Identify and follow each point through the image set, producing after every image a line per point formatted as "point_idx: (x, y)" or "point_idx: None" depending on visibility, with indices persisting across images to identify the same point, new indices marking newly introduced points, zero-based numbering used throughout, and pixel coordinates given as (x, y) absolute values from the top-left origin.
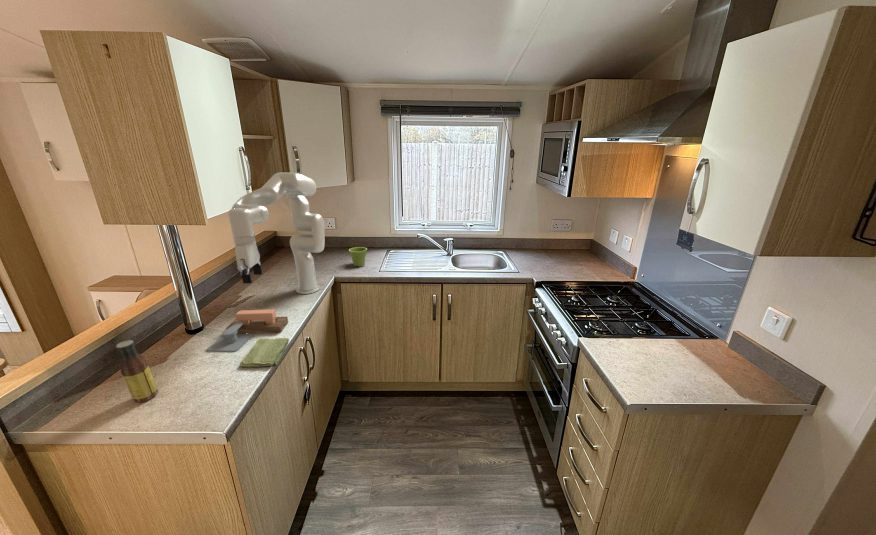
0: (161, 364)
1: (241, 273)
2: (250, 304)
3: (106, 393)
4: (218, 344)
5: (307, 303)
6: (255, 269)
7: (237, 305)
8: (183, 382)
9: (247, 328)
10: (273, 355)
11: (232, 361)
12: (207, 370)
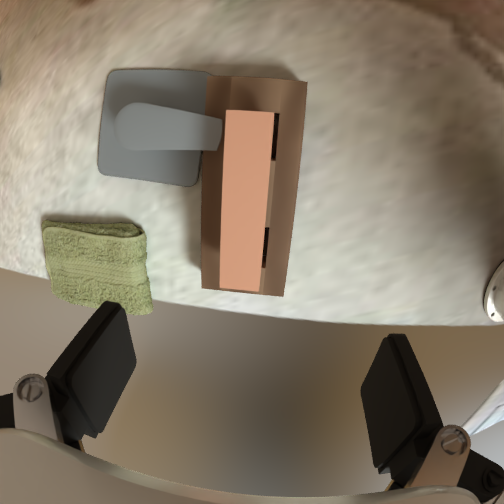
0: (72, 8)
1: (8, 400)
2: (472, 100)
3: (14, 5)
4: (135, 92)
5: (419, 309)
6: (391, 405)
7: (468, 54)
8: (11, 120)
9: (203, 165)
10: (68, 297)
11: (63, 187)
12: (36, 144)
